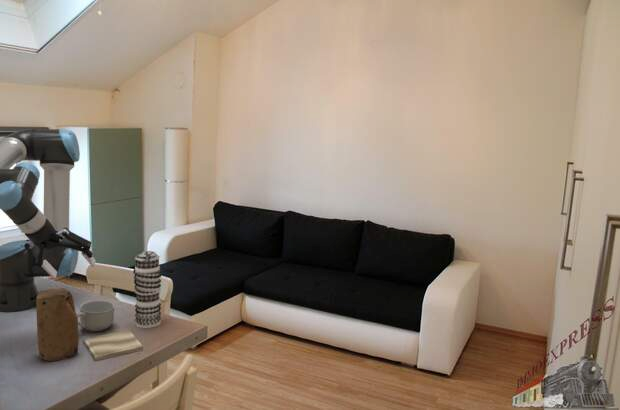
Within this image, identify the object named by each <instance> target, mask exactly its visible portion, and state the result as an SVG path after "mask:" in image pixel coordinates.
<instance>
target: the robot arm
mask: <svg viewBox="0 0 620 410" xmlns="http://www.w3.org/2000/svg"><path fill="white" fill-rule="evenodd" d="M78 141H79V140H78V138H77V136H76V133H75V132H74V131H72V130H70V129H56V128H55V129H52V128H51V129H48V128H25V129H21V130H17V131H15V132H13V133H10V134H8V135H6V136H4V137H3V138H1V139H0V210H1V211H2V212H3V213H4V214H5V215H6V216H7V217H8V218H9V219H10V220H11V221H12V222H13V224H15V226H16V227H17V228H18V229H19V230H20V231H21V232H22V233H23V234H24V235H25V237H26V238H28V239H21V240H14V241H10V242H6V243H3V244H1V245H0V312H6V313H7V312H10V313H11V312H19V311H25V310H30V309H32V308H35V307H36V299H37V295H38V293H39V292H40V291H39V289H38V287H37V285H36V283H35V278H47V277H49V278H50V277H51V278H52V279H53V280H54V279H55V280H56V278H60V277H69V276H71V275H72V274H73V273H74V272H75V270H76V268H77V264H78V261H79V259H78V258H79V253H80V252H81V255H82V257H83V258H84V259H85V260H86V262H87V263H89V265H90V266H91V267H92V268H93V267H95V265H96V261H97V260H96V258H95V257H94V256H93V255H94V254H93V252H92V250H91V247H92V241H91V240H88V239H86V238H84V237H82V236H80V235H78V234H76V233H74V232H72V231H71V230H70V195H71V194H70V191H71V190H70V188H71V187H70V185H71V184H70V183H71V182H70V181H71V179H70V178H71V177H70V176H71V170H73V169H74V168H75V163H77V162H79V161H80V157H81V151H80V145H79V142H78ZM23 161H35V162H36V161H37V162H39V167H41V169H43V212H42V211H41V210H40V208H38V207H37V205H36V204H35V203H34V202H33V201H32V199H33V196H34V193H35V191H36V189H37V187H38V185H39V179H40V176H41V173H40V170H39V169H38V167H37V166H36V165H34V164H32V163H30V162H23ZM14 165H15V166H14ZM12 167H13V168H12Z"/></svg>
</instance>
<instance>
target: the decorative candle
mask: <svg viewBox="0 0 620 410" xmlns="http://www.w3.org/2000/svg"><path fill="white" fill-rule="evenodd" d="M134 259H135V266H134V269H133V272H132V273H133V274H134V275H133V284H134V293H135V296H136V298H135V304H134V307H135V310H134V311H135V313H134V317H135V318H134V320H135V327H138V328H141V329H150V328H154V327H158V326H160V325H161V323H162V316H161V315H162V312H161V309H162V307H161V306H162V303H161V298H160V292H161V288H162V284H161V282H162V280H161V279H160V278H161V277H162V274H161V273H162V272H163V271H162V269H160V268H161V267H160V256H159V255H158V254H157V253H156V252H155V251H152V250H145V251H141V252H138V254H137V255H136V256H134Z"/></svg>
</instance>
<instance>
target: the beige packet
mask: <svg viewBox="0 0 620 410" xmlns="http://www.w3.org/2000/svg"><path fill="white" fill-rule="evenodd" d="M83 344H84V345H85V347H86V349H87V350H88V352H89V355H91V357H92V358H93V360H94V361H95V362H96V361H100V360H101V361H102V360H106V359H110V358H115V357H118V356H122V355H127V354H131V353H136V352H140V351H143V350H144V345H143V344H142V343H141V342H140V341H139V340H138V338H137V337H136V336H135V335H134V334H133V332H131V330H130V329H125V330H122V331H116V332H112V333H108V334H103V335H98V336H93V337H89V338H84V339H83Z"/></svg>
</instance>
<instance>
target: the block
mask: <svg viewBox="0 0 620 410" xmlns="http://www.w3.org/2000/svg"><path fill="white" fill-rule="evenodd" d="M38 292H39V293H38V295H37V299H36V306H35V307H36V336H37V347H38V353H39V357H40V358H41V360H44V361H46V362H47V361H48V362H55V361H59V360H63V359H64V358H65V359H66V358H69V357H70V358H71V357H73V356H75V354H77V353H78V350H79V345H80V343H79V325H78V322H79V319H78V320H77V315H76V314H77V312H76V308H75V303H74V299H73V295H72V291H70V290H68V289H66V288H64V287H62V288H61V287H60V288H51V289H46V290H42V291H38Z"/></svg>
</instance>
